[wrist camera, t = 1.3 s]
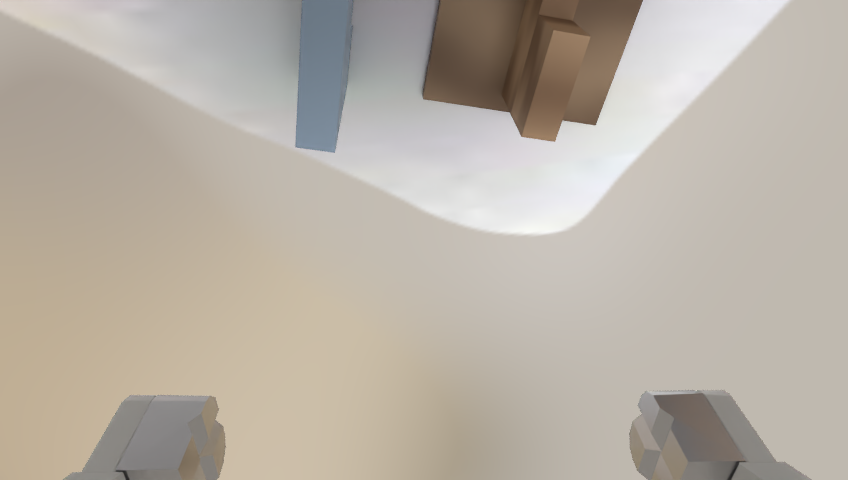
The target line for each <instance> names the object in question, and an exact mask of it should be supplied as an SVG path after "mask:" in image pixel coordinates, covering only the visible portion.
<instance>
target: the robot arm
mask: <svg viewBox="0 0 848 480" xmlns="http://www.w3.org/2000/svg"><path fill="white" fill-rule="evenodd" d="M638 406H639V408H640V411H641V413H642V414H641V415H640V416H639V417H638V418H636V419H635V420H634V421H633V422H632V426H631V430H630V434H629V435H630V450H631V454H632V458H633V461H634V463H635V466H636V468H637V471H638V472H639V473H641V474H642V475H643V476H644V477H645V478H646V479H648V480H811V479H810V478H808V477H807V476H805V475H804V474H802V473H801V472H799V471H797V470H796V469H795V468H793V467H792V466H790V465H789V464H787V463H786V462H777V461H776V460H775V459H774V457H773V456H772V454H771V453H770V451H769V450H768V448H767V447H766V446H765V444H764V443H763V441H762V440H761V438H760V437H759V436H758V434H757V433H756V431H755V430H754V428H753V427H752V425H751V424H750V422H749V421H748V420H747V418H746V417H745V415H744V414H743V412H742V411H741V410H740V408H739V407H738V405H737V404H736V402H735V401H734V399H733V398H732V396H731V395H730V394H729V393H727V392H726V391H724V390H698V391H694V390H685V391H683V390H682V391H646V392H645V393H644V394H642V395H641V398H640V401H639V403H638ZM218 410H219V408H218V405H217V402H216V398H215V397H212V396H178V395H157V396H149V395H147V396H146V395H130V396H129V397H128V398H126V399H125V400H124V401H123V402H122V403H121V405H120V407H119V408H118V410H117V412H116V413H115V415H114V417H113V419H112V420H111V422H110V424H109V425H108V427H107V429H106V431H105V432H104V434H103V436H102V437H101V439H100V441H99V443H98V444H97V446H96V448H95V449H94V451H93V453H92V455H91V456H90V458H89V460H88V462H87V463H86V465H85V467H84V468H83V470H82V472H73V473H71V474H70V475H68V476H67V477H66V478H64V479H63V480H217V479H218V478H219V475H220V472H221V469H222V465H223V461H224V455H225V447H226V446H225V433H224V429H223V426H222V425H221V424H220V423H218V422H217V421H216V420H215V419H216V416H217V413H218Z"/></svg>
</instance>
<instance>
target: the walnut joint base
mask: <svg viewBox="0 0 848 480" xmlns="http://www.w3.org/2000/svg"><path fill="white" fill-rule="evenodd" d="M642 1H643V0H440V1H439V6H438V12H437V17H436V23H435V28H434V34H433V40H432V45H431V51H430V56H429V62H428V67H427V73H426V78H425V84H424V89H423V99H426V100H433V101H439V102H446V103H452V104H459V105H465V106H472V107H479V108H485V109H492V110H498V111H505V112H510V114H511V116H512V118H513V120H514V122H515V124H516V126H517V128H518V130H519V132H520V135H521V137H527V138H534V139H541V140H547V141H554V142H555V140H556V137H557V134H558V131H559V128H560V125H561V122H562V120H564V121H571V122H577V123H584V124H590V125H596V123H597V120H598V117H599V115H600V112H601V109H602V107H603V104H604V101H605V99H606V96H607V94H608V91H609V88H610V86H611V83H612V80H613V78H614V75H615V72H616V70H617V67H618V65H619V62H620V59H621V57H622V54H623V51H624V49H625V46H626V44H627V41H628V38H629V36H630V33H631V30H632V28H633V25H634V22H635V20H636V17H637V15H638V12H639V9H640V7H641V4H642Z"/></svg>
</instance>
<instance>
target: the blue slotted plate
mask: <svg viewBox="0 0 848 480" xmlns="http://www.w3.org/2000/svg"><path fill="white" fill-rule="evenodd" d="M352 10H353V0H302V16H301V38H300V60H299V81H298V103H297V125H296V147H297V148H305V149H312V150H320V151H327V152H334V153H335V149H336V143H337V138H338V132H339V126H340V121H341V115H342V110H343V104H344V98H345V93H346V87H347V78H348V68H349V58H350V47H351V37H352V27H353V26H351V20H352Z"/></svg>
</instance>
